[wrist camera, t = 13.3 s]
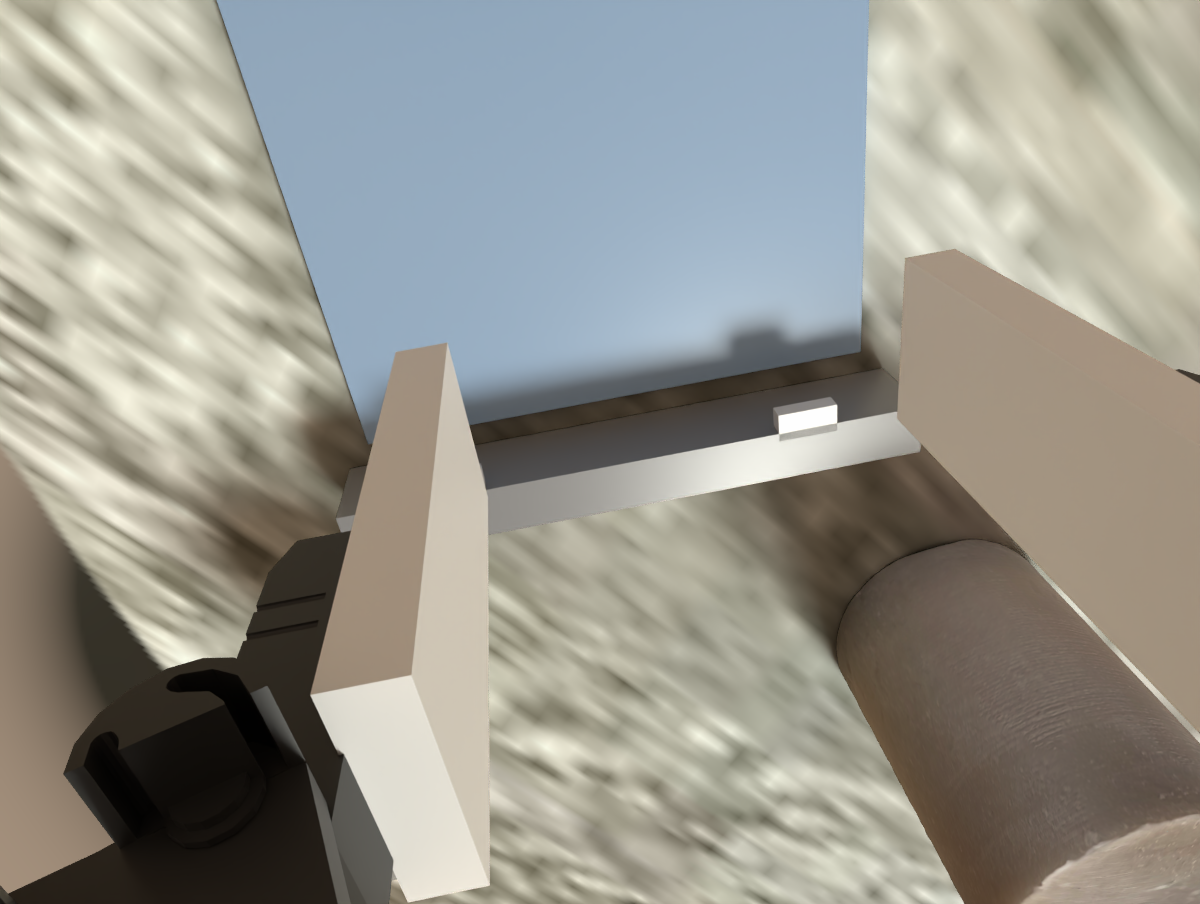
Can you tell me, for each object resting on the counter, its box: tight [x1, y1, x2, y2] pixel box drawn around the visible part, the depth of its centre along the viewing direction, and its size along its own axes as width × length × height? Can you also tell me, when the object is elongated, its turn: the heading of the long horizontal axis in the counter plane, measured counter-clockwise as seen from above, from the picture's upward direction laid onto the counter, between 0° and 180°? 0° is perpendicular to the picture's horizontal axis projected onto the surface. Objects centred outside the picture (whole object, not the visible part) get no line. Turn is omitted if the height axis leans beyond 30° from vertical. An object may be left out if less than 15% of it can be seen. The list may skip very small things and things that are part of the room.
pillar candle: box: [837, 539, 1200, 904], centre depth 30 cm, size 10×10×15 cm
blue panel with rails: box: [217, 0, 921, 535], centre depth 24 cm, size 21×20×3 cm
